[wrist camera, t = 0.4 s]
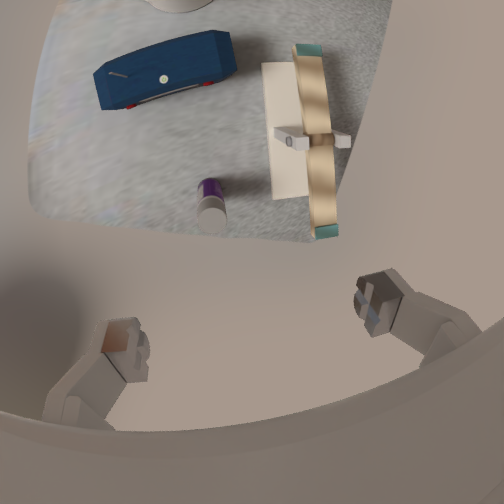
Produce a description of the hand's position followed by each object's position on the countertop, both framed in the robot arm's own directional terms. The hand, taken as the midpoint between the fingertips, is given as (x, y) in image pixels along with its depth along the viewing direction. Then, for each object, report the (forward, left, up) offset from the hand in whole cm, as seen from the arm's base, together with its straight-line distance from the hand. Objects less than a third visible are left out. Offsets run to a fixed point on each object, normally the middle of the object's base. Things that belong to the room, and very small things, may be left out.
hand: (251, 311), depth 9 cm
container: (+11, -2, -46) cm, 47 cm away
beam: (+1, +16, -35) cm, 38 cm away
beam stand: (+1, +16, -45) cm, 48 cm away
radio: (-13, -6, -46) cm, 48 cm away
